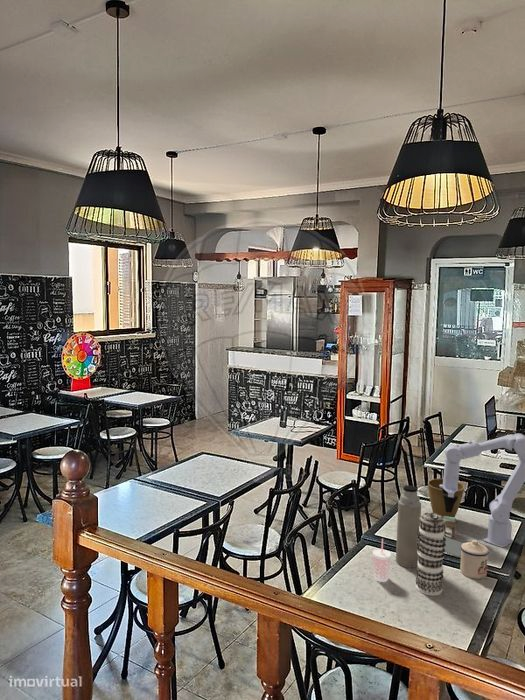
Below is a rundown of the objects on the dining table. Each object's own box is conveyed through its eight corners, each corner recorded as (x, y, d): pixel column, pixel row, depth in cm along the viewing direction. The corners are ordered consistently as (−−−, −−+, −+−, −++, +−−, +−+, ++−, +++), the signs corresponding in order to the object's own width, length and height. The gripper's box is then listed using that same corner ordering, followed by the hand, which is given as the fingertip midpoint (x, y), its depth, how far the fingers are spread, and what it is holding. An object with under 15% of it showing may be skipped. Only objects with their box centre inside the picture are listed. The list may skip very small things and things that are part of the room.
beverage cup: (379, 584, 178) (381, 544, 177) (368, 576, 183) (369, 537, 182) (393, 580, 181) (395, 540, 180) (382, 572, 186) (383, 533, 185)
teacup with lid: (482, 582, 181) (484, 549, 180) (455, 573, 187) (457, 541, 186) (493, 569, 190) (495, 537, 189) (467, 561, 196) (469, 530, 195)
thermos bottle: (398, 555, 199) (401, 482, 197) (420, 559, 196) (423, 485, 194) (393, 564, 192) (397, 488, 190) (416, 569, 189) (420, 492, 186)
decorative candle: (411, 580, 181) (414, 509, 179) (438, 581, 181) (442, 510, 178) (418, 595, 172) (421, 520, 170) (447, 596, 172) (451, 521, 169)
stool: (442, 530, 222) (442, 515, 221) (454, 532, 220) (455, 517, 220) (442, 535, 217) (442, 520, 216) (455, 537, 215) (456, 522, 215)
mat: (445, 537, 215) (445, 536, 215) (474, 548, 206) (474, 547, 206) (429, 546, 207) (429, 545, 207) (458, 557, 198) (458, 556, 198)
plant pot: (419, 519, 234) (421, 483, 232) (437, 510, 244) (438, 476, 242) (451, 530, 223) (453, 492, 221) (468, 520, 233) (470, 485, 231)
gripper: (439, 469, 224) (436, 500, 225) (441, 480, 210) (438, 513, 211) (457, 471, 222) (454, 503, 223) (460, 482, 208) (457, 516, 209)
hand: (447, 508), depth 217 cm, fingers open, 7 cm apart
